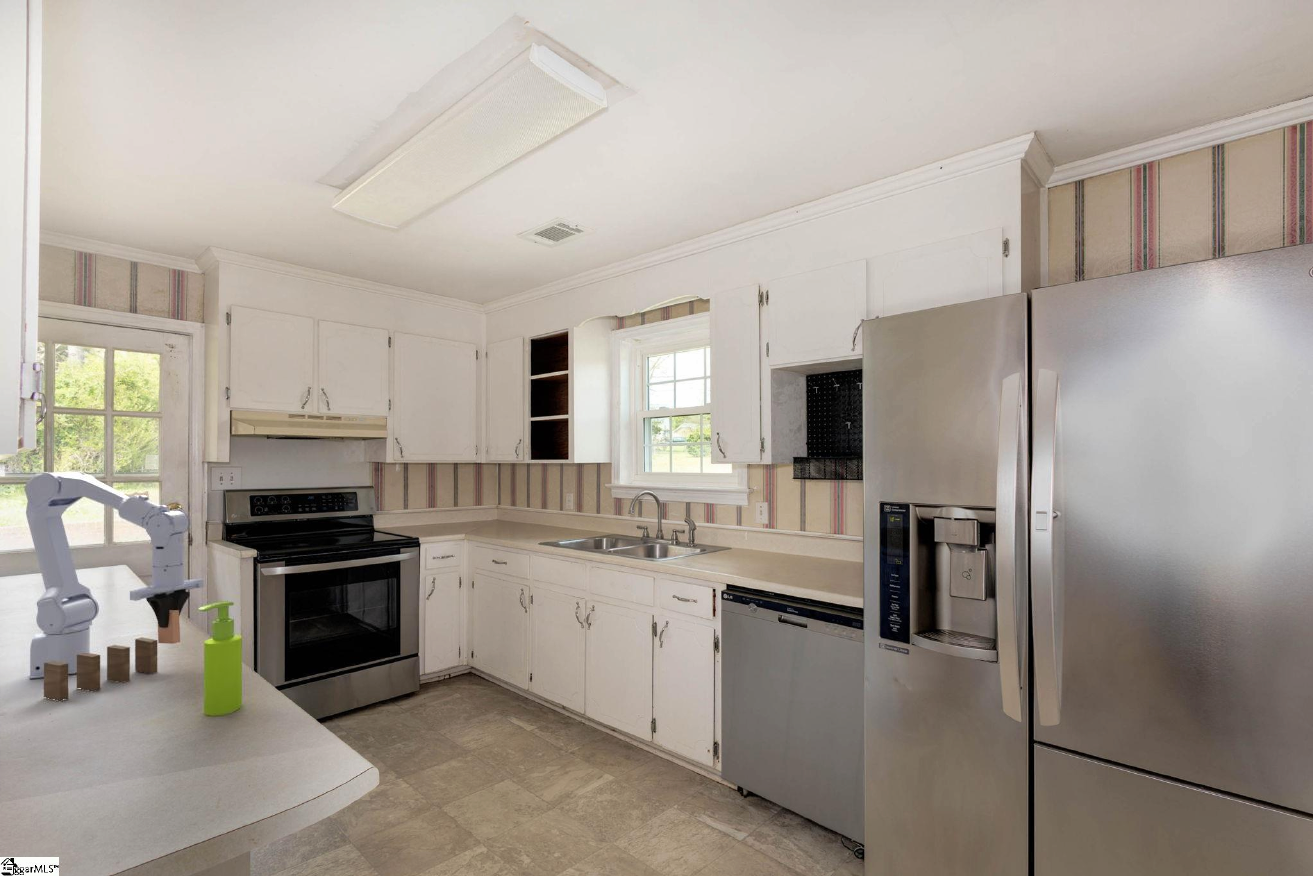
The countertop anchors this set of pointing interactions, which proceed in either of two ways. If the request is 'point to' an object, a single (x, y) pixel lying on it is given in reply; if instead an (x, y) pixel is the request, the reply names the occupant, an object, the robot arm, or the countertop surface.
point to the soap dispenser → (222, 664)
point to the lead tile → (170, 629)
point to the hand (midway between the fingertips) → (168, 626)
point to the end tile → (56, 680)
